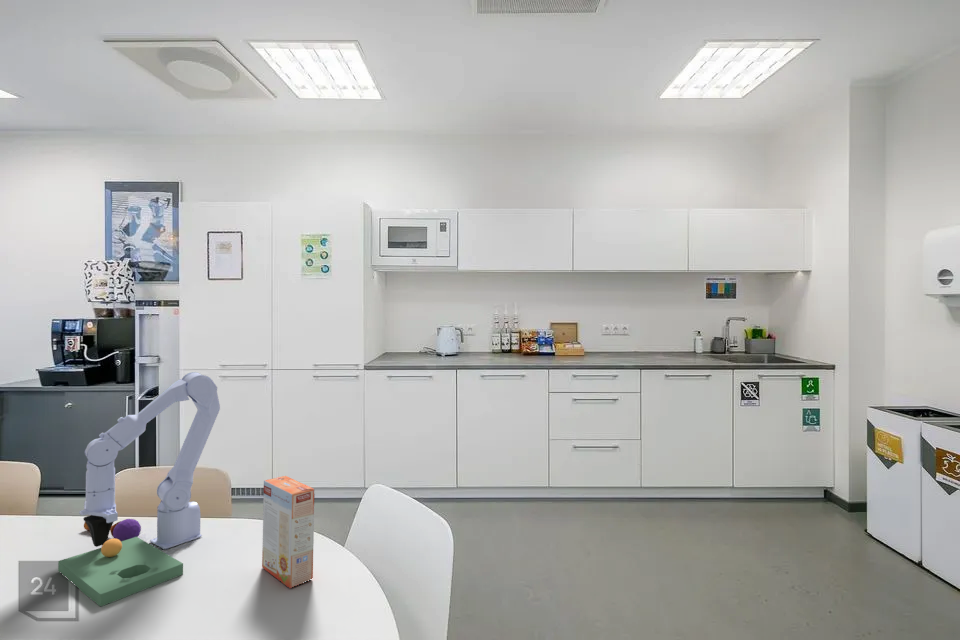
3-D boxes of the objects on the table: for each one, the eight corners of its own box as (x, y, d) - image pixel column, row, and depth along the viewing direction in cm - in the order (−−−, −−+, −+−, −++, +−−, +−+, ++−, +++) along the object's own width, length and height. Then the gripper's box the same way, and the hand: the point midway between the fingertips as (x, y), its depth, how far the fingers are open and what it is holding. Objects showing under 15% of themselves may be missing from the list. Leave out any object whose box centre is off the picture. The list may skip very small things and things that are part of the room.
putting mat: (136, 546, 129) (136, 536, 129) (183, 574, 116) (183, 563, 116) (58, 571, 116) (58, 561, 116) (100, 606, 102) (100, 594, 102)
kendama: (104, 510, 143) (147, 518, 134) (100, 533, 141) (143, 542, 133) (80, 513, 137) (123, 522, 129) (76, 537, 136) (119, 547, 127)
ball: (117, 550, 121) (118, 534, 121) (125, 555, 119) (125, 538, 119) (98, 557, 118) (98, 540, 118) (105, 561, 116) (105, 544, 116)
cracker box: (314, 580, 114) (316, 487, 114) (289, 590, 110) (290, 494, 110) (285, 559, 124) (286, 474, 123) (261, 568, 119) (262, 479, 119)
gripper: (69, 487, 123) (68, 542, 123) (92, 499, 115) (91, 559, 115) (103, 479, 129) (102, 532, 129) (127, 491, 121) (127, 548, 121)
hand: (99, 544), depth 122 cm, fingers closed
